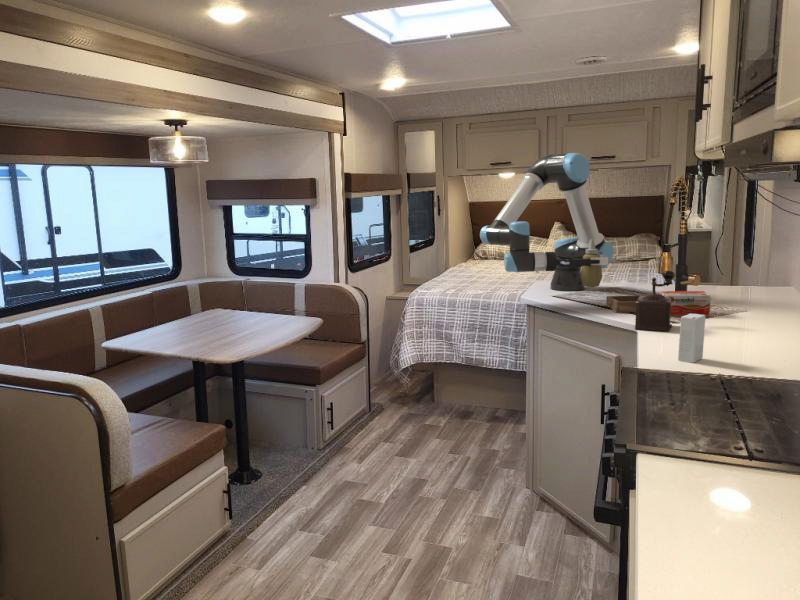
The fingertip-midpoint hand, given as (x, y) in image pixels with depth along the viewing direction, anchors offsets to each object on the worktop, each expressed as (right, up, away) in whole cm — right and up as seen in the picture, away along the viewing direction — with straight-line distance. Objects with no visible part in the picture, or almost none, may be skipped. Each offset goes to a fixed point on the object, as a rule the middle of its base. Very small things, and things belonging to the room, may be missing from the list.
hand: (604, 260), depth 239 cm
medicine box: (+23, -21, -17) cm, 35 cm away
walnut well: (+7, -19, -5) cm, 21 cm away
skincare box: (-1, -32, -73) cm, 80 cm away
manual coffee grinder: (+5, -24, -33) cm, 42 cm away
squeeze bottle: (-5, -10, +2) cm, 11 cm away
